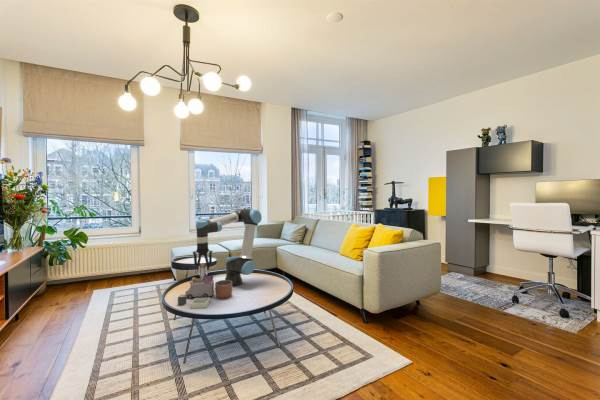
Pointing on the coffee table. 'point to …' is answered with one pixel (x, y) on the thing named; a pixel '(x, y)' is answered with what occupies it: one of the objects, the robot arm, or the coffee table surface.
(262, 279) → the coffee table surface
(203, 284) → the toy vehicle
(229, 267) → the robot arm
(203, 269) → the pin
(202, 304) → the tray
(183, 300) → the chock
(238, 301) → the coffee table surface
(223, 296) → the planter
